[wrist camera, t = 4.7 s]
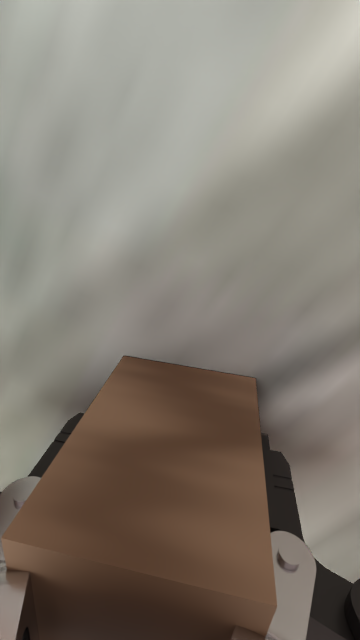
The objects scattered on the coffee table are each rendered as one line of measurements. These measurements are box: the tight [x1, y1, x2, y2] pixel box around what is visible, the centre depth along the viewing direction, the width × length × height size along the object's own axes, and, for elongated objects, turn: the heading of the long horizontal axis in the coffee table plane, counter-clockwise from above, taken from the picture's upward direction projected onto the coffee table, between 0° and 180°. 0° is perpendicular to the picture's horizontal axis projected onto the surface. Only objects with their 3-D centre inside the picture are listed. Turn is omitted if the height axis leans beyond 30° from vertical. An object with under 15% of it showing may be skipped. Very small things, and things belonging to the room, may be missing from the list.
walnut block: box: [1, 356, 277, 640], centre depth 10 cm, size 5×5×7 cm
